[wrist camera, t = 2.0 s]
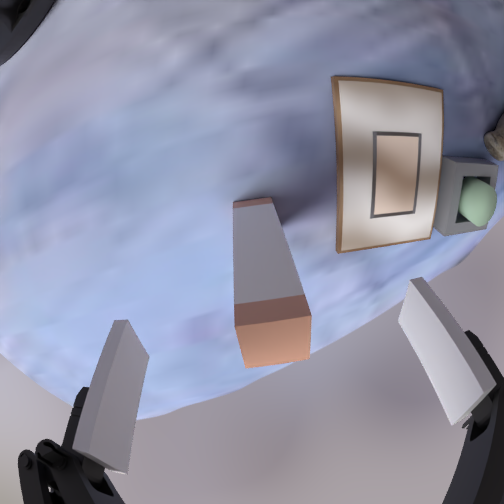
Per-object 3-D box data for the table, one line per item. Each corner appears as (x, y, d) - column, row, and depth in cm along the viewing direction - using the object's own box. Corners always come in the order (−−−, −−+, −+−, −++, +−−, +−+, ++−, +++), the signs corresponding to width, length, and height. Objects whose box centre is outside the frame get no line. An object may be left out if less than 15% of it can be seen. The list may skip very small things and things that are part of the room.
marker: (232, 202, 20) (234, 326, 10) (270, 197, 20) (311, 315, 10) (238, 235, 21) (245, 368, 11) (274, 230, 21) (309, 359, 11)
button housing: (441, 155, 18) (456, 162, 16) (485, 159, 18) (498, 165, 16) (432, 226, 22) (444, 236, 20) (475, 220, 22) (486, 228, 20)
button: (457, 175, 18) (476, 186, 16) (482, 175, 18) (499, 185, 16) (451, 215, 20) (468, 228, 18) (475, 212, 20) (491, 224, 18)
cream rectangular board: (330, 76, 15) (334, 76, 14) (438, 89, 15) (444, 90, 14) (335, 249, 23) (338, 254, 22) (427, 235, 22) (431, 239, 22)
